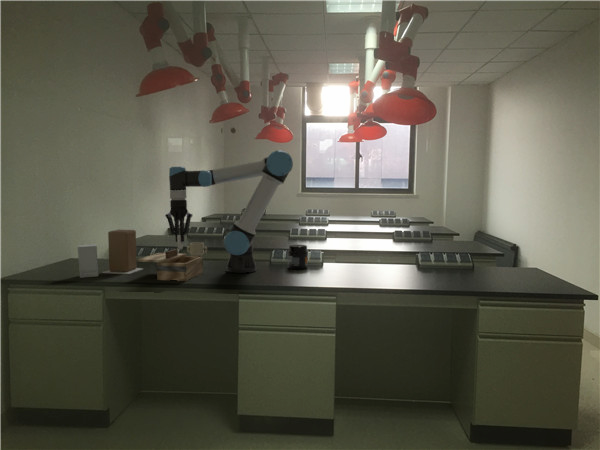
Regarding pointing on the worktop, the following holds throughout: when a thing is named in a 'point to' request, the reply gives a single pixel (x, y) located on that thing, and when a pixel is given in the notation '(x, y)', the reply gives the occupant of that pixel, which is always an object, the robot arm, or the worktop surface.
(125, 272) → the mat
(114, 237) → the wooden block
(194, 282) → the worktop surface
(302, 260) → the supplement container
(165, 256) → the lid
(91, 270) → the skincare box
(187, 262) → the toolbox
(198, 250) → the character mug
